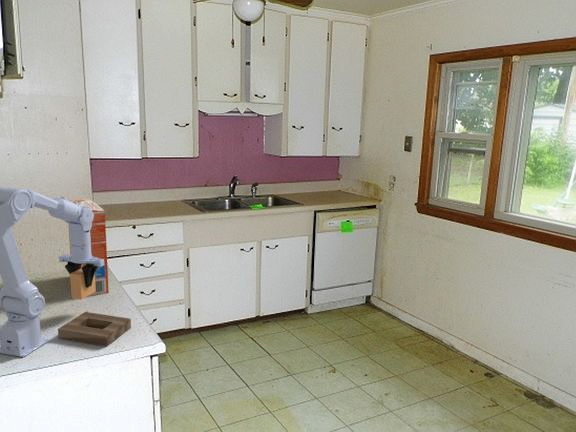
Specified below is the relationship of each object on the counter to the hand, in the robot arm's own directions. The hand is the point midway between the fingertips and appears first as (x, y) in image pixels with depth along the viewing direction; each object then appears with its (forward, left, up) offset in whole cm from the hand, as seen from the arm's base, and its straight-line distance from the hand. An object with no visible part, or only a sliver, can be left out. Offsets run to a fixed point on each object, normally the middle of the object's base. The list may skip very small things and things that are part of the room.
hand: (83, 285), depth 145 cm
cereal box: (+23, +15, -10) cm, 29 cm away
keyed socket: (-10, -11, -10) cm, 18 cm away
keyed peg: (0, 0, -3) cm, 3 cm away
